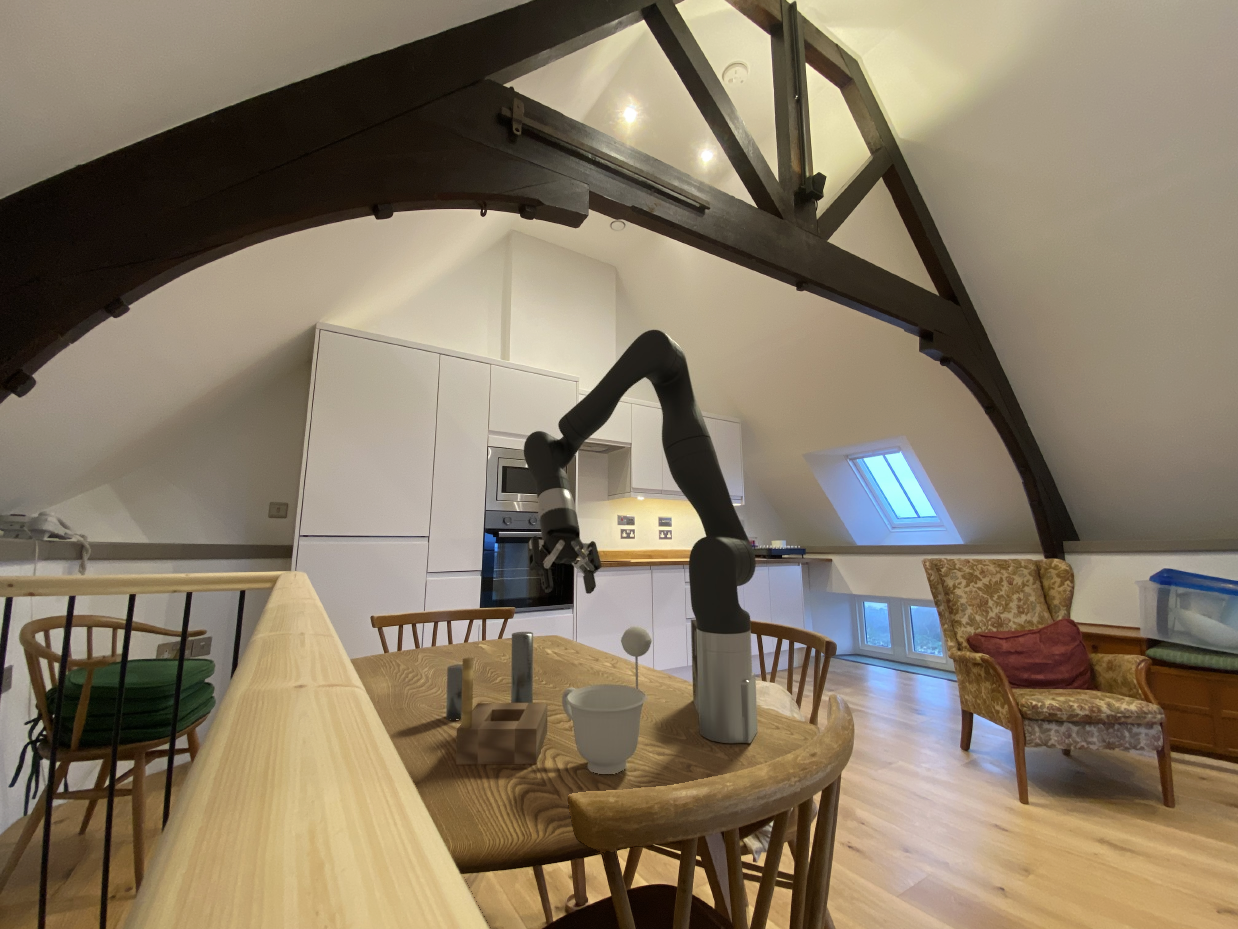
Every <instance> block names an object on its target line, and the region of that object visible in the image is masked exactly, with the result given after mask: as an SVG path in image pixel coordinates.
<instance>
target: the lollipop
mask: <svg viewBox="0 0 1238 929" xmlns="http://www.w3.org/2000/svg"><path fill="white" fill-rule="evenodd" d="M652 641H653V640H652V637H651V635H650V633H649V632H648V631H647V629H645V628H644V627H642V626H639V625H633V626H629V627H628V628H626V629H625V631H624V632H623V634H622V636H621V639H620V642H621V646H622V649H623V651H624V652H625V653H627V655H629V656H630V657H635V658H634V659H635V661H634V662H635V665H634V666H635V688H637V689H639V671H638V670H639V666H638V665H639V662H638V661H639V659H638V657H642V656H644V655H646V654H647V653H648V651H649V650H650V648H651V645H652Z"/></svg>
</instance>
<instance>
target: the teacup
mask: <svg viewBox="0 0 1238 929" xmlns="http://www.w3.org/2000/svg"><path fill="white" fill-rule="evenodd" d="M647 699H648V697H647V694H646V693H645V692H644V691H642V690H641V689H639V688H638V689H637V688H636V687H633V686H630V685H623V684H609V683H608V684H593V685H588V686H583V687H579V688H575V687H568V688H566V689H565V690H564V692H563V693H562V698H561V704H562V708H563V711H564V713H565V715H566V717H568V718H569V720H571V721H572V725H573V734H574V735H573V736H574V741H575V746H576V748H577V751H578V754H579V755H580V756H581V758H583V759H584V760H585V761H587V769H588V770H589V771H590V772H591V773H593V772H594V773H593V774H595V773H598V774H597V775H599V774H613V773H617V772H620V771H622V770H623V771H625V770H626V768H627V760H628V759H630V758H631V757H632V756H633V755H634V753H635V752H636V750H637V748H638V743H639V738H640V730H641V728H640V727H641V718H642V716H641V715H642V710H643V709H642V708H643V706H644V703H646V701H647ZM625 767H626V768H625ZM624 769H625V770H624ZM623 771H622V772H623ZM620 773H621V772H620ZM617 774H618V773H617Z"/></svg>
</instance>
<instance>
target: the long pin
mask: <svg viewBox="0 0 1238 929" xmlns="http://www.w3.org/2000/svg"><path fill="white" fill-rule="evenodd" d="M510 658H511V662H510V663H511V666H510V668H511V669H510V671H511V672H510V674H511V678H510V681H511V682H510V703H534V701H533V700H534V698H533V696H534V692H533V691H534V689H533V688H534V687H533V686H534V681H533V679H534V633H533V632H532V631H518V632H517V631H516V632H513V633H511V657H510Z"/></svg>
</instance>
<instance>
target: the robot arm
mask: <svg viewBox="0 0 1238 929" xmlns="http://www.w3.org/2000/svg"><path fill="white" fill-rule="evenodd" d="M644 378H645V379H647V380H648V381H649V382H650V383H651V386H652V388H653V389H654V392H655V394H656V396H657V399H658V401H659V404H660V407H661V413H662V426H661V443H662V444H661V445H662V448H663V452H664V455H665V459H666V462H667V465H668V469H669V472H670V475H671V477H672V479H673V481H674V482H675V484H676V485H677V487H678V489H679V490H680V492H681V493H682V494H683V496H684V497H685V498H686V499H687V501H688V502H689V503H690V504H691V506H692V507H693V509H694V510H695V511H696V514H697V515H698V517H699V519H700V522H701V525H702V527H703V528H702V529H703V530H704V534H705V536H704V537H701V538H700V539H698V540H697V541H696V542H695V543H694V544H693V546H692V548H691V550H690V553H689V557H688V578H689V591H690V592H689V593H690V605H691V610H692V613H693V615H694V617H695V620H696V624H697V664H698V702H699V714H698V727H699V728H698V729H699V734H700V736H702V737H703V738H705V739H707V740H709V741H712V742H717V743H724V744H740V743H746V744H752V741H753V740H754V738H755V736H756V734H757V733H758V708H757V707H758V706H757V705H758V704H757V684H756V682H757V679H756V677H757V676H756V673H755V672H753V660H752V658H753V656H752V635H751V634H752V633H751V631H752V630H751V629H752V628H751V627H752V626H751V615H750V613H749V612H748V611H747V610H745V609H744V608H742V607H741V605H740V602H739V594H738V592H739V591H738V587H741V586H743V585H746V584H747V583H749V582H750V581H751V579H752V578H753V577H754V575H755V571H756V561H757V560H756V556H755V551H754V549H753V546H752V544H751V541H750V539H749V537H748V535H747V532H746V530H745V528H744V526H743V524H742V522H741V519H740V518H739V515H738V513H737V511H736V508H735V505H734V504H733V501H732V498H731V495H730V491H729V489H728V486H727V482H726V480H725V477H724V475H723V471H722V468H721V466H720V463H719V458H718V455H717V452H716V449H715V446H714V443H713V440H712V438H711V435H710V432H709V430H708V428H707V424H706V422H705V419H704V416H703V414H702V411H701V409H700V406H699V404H698V402H697V400H696V396H695V392H694V389H693V385H692V381H691V375H690V370H689V366H688V362H687V357H686V354H685V353H684V350H683V349H682V347H681V346H680V345H679V344H678V343H677V342H676V341H675V340H674V339H673V338H671V336H670V335H669V334H667V333H666V332H664V331H662V330H659V329H649V330H646V331H645V332H643V333H641V334H640V335H639V336H638V337H636V338H635V339H634V341H633V342H632V343H631V344H630V345H629V346H628V347H627V348H626V350H625V351H624V352H623V353H622V354H621V356H620V357H619V358H618V360H617V361H616V362H615V363H614V364H613V366H612V367H611V368H610V369H609V370H608V371H607V373H606V374H605V375H604V376H603V377H602V378H601V380H600V381H599V382H598V383H597V384H596V385H595V386H594V388H593V389H591V391H590V392H589V393H588V394H587V395H585V397H584V398H582V399H581V400H580V401H579V402H578V403H576V405H574V406H573V407H572V408H571V409H570V410H569V411H568V412H566V413H565V414H564V415H563V416H562V417H561V418H559V421H558V424H557V426H558V430H559V431H560V434H561V435H562V437H561V438H559V439H558V438H556V437H555V436H553V435H551V434H549V433H548V432H546V431H543V430H535V431H533V432H532V433H530V434H529V435H528V436H527V438H526V439H525V441H524V445H523V456H524V460H525V464H526V466H527V467H528V470H529V474H530V475H531V477H532V479H533V481H534V483H535V490H536V496H537V512H538V515H537V516H538V520H539V526H540V532H541V539H539V537H538V536H536V535H534V536H532V537H531V538H530V540H529V542H528V543H527V555H528V557H527V558H528V569H529V570H530V571H532V572H533V571H536V572H538V573H539V575H540V583H541V588H542V589H543V590H544V593H551V592H552V591H553V589H554V582H553V581H554V580H553V574H552V568H551V566H552V564H553V562H554V563H555V564H556V565H557V564H559V565H560V564H565V565H572V566H573V567H574V568H575V569H577V570H579V572H581V574H583V575H582V579H583V584H584V589H585V590H584V591H585V593H586V594H588V595H591V594H592V592H594V590H595V589H596V588H597V587H596V586H597V585H596V577H595V574H596V573H597V572H599V570H600V569H602V567H603V566H602V562H601V558H600V554H599V551H598V547H597V543H596V542H595V541H594V540H592V541H590V542H589V543H587V542H586V543H585V542H583V541H582V539H581V536H580V534H581V533H580V525H579V520H578V514H577V510H576V503H575V500H574V498H573V495H572V489H571V484H570V480H569V476H568V474H567V472H566V471H565V470H564V469H565V468H566V467H568V465H569V464H570V463H571V462H572V460H573V458H574V457H575V455H576V454H577V453H578V451H579V450H580V448H581V447H582V445H583V444H584V443H585V442H586V440H588V439H589V438H590V437H591V436H593V435H594V434H595V433H596V432H597V431H599V430H600V429H601V428H602V427H603V426H604V425H605V424H606V423H607V422H608V421H609V419H610V418H611V416H612V415H613V413H614V412H615V410H616V408H617V406H618V404H619V403H620V401H621V399H622V398H623V396H624V395H625V394H626V393H627V391H629V389H630V388H632V387H633V386H634V385H636V384H637V383H639V382H640V381H642V380H643V379H644ZM541 549H543V551H544V552H545V553H546V554H547V555H546V557H545V559H544V560H543V562H542V561H541V555H540V554H541V552H540V550H541ZM578 559H579V560H578ZM550 568H551V569H550Z"/></svg>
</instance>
